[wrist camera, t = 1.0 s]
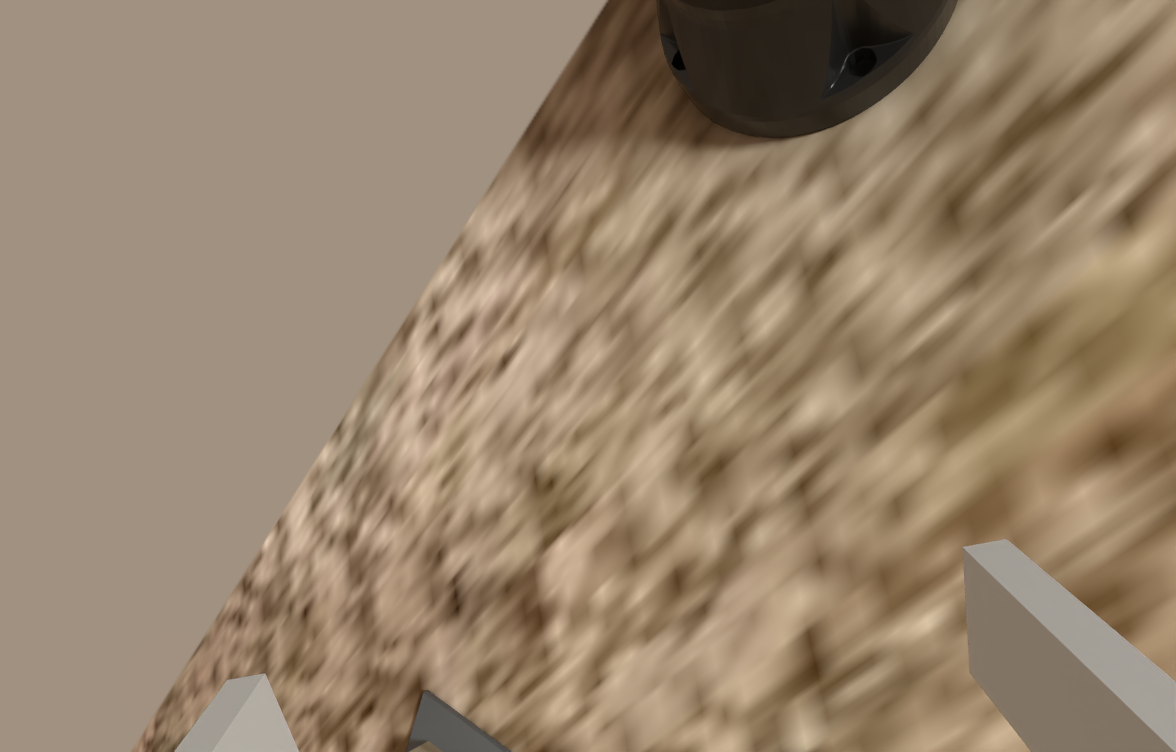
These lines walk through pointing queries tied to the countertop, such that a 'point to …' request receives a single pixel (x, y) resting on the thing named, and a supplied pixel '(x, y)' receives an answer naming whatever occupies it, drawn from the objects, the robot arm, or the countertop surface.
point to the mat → (448, 729)
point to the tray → (426, 748)
